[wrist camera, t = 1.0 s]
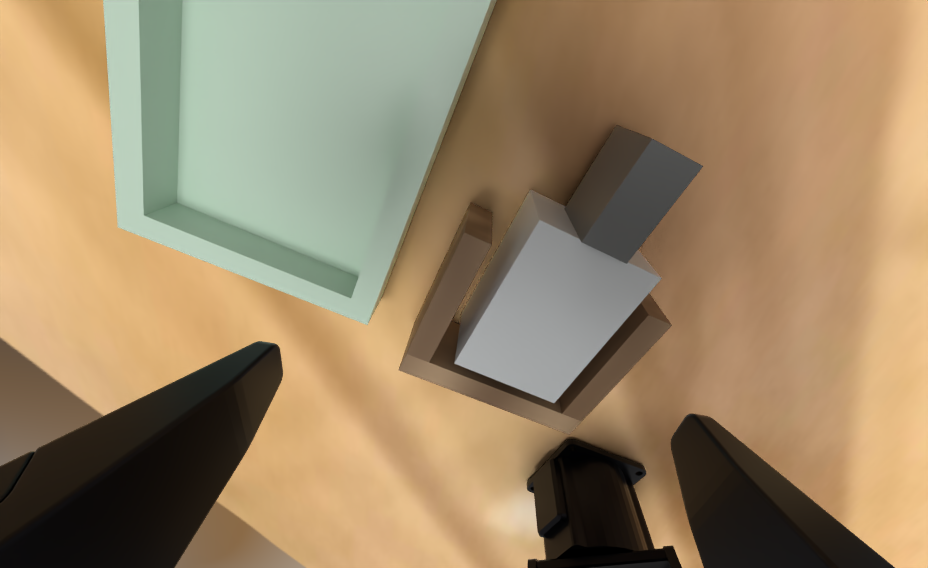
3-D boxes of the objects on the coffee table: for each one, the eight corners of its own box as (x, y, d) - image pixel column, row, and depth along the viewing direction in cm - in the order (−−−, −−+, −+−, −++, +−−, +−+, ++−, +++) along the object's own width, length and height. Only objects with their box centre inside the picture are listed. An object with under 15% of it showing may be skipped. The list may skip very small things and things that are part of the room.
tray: (533, -94, 12) (541, -131, 10) (381, 298, 21) (367, 325, 19) (164, -316, 11) (76, -421, 8) (162, 210, 19) (117, 227, 17)
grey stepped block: (681, 161, 16) (745, 189, 12) (544, 345, 22) (554, 407, 18) (576, 104, 15) (605, 113, 11) (461, 311, 21) (453, 368, 17)
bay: (640, 280, 19) (672, 325, 16) (558, 381, 23) (569, 434, 20) (470, 202, 18) (464, 232, 14) (414, 323, 22) (398, 370, 18)
